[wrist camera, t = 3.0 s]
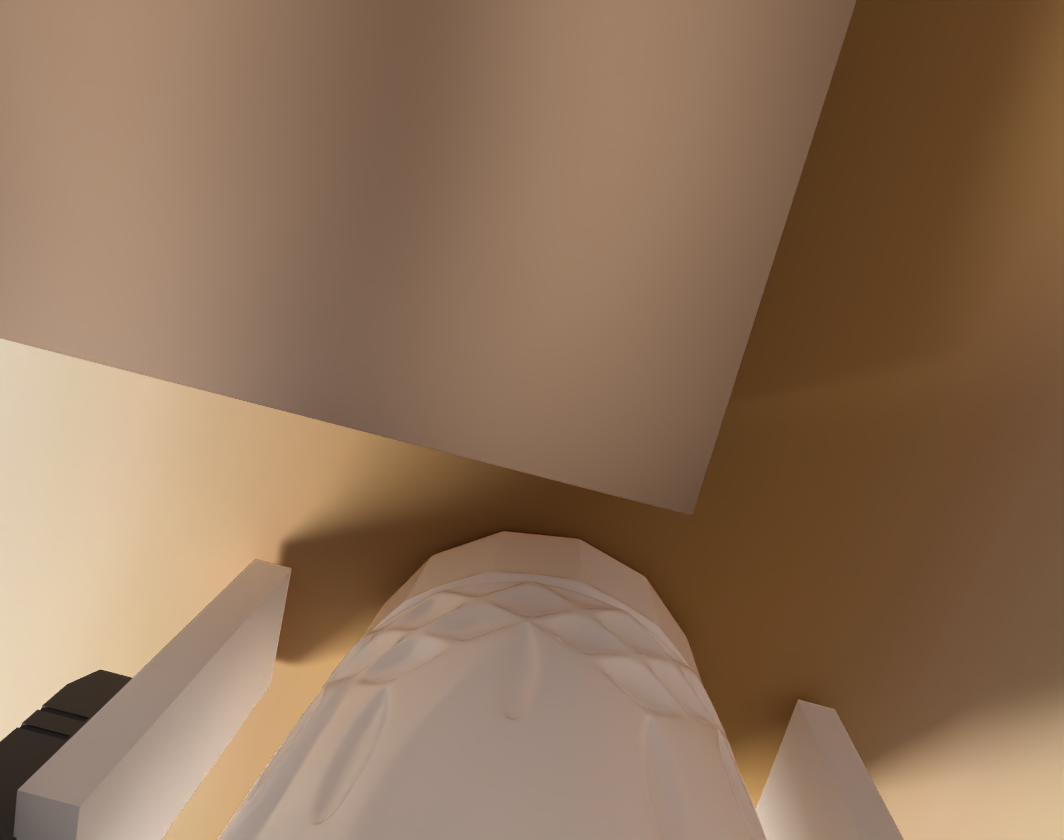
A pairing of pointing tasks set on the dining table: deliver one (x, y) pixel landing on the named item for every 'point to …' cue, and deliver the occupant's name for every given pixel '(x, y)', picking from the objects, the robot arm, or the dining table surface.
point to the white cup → (509, 714)
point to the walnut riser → (417, 210)
